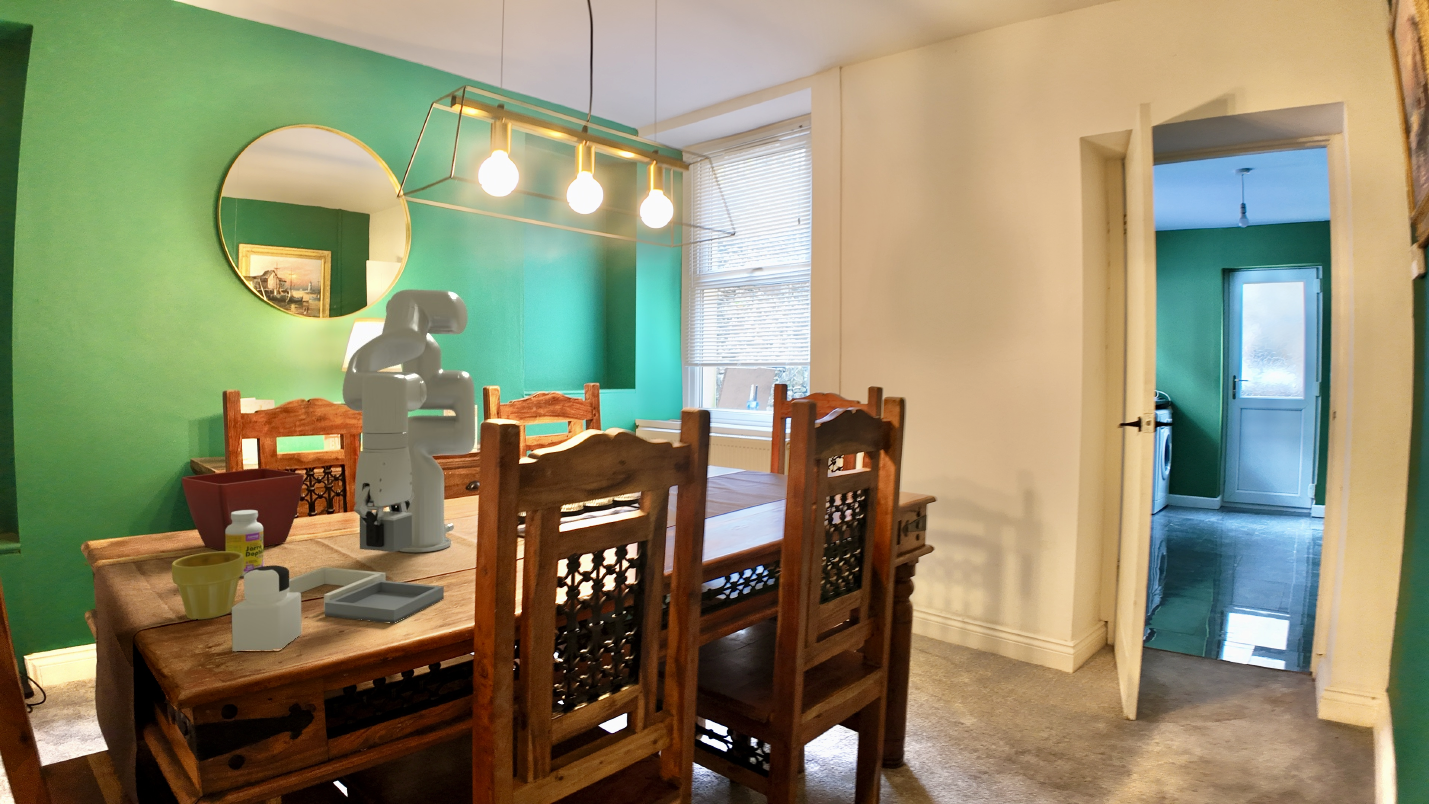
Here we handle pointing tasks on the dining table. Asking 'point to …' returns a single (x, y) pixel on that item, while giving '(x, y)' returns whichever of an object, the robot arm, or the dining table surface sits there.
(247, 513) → the supplement bottle
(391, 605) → the tray
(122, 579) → the dining table surface
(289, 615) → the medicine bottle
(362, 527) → the gray block
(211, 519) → the plant pot
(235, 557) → the plant pot
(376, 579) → the bay
